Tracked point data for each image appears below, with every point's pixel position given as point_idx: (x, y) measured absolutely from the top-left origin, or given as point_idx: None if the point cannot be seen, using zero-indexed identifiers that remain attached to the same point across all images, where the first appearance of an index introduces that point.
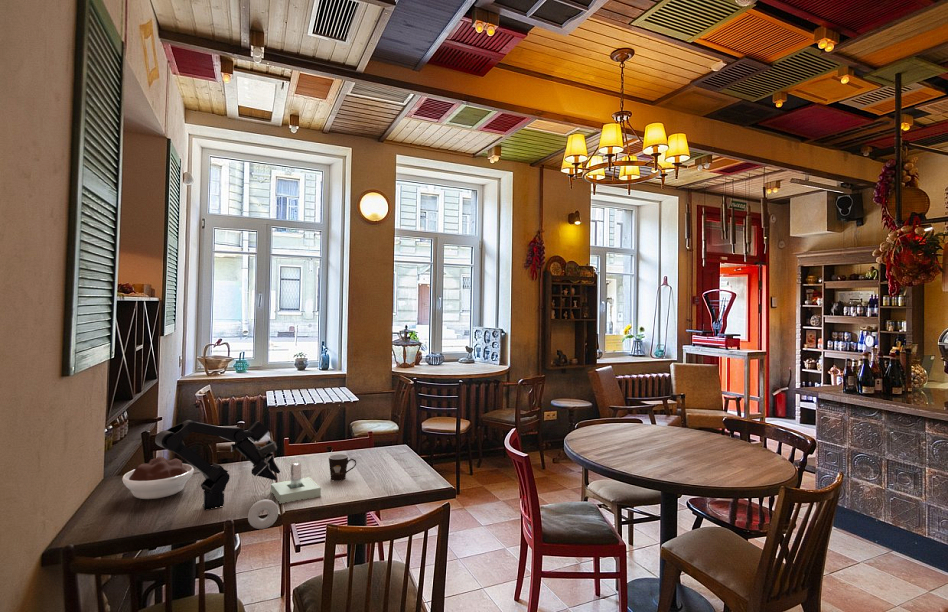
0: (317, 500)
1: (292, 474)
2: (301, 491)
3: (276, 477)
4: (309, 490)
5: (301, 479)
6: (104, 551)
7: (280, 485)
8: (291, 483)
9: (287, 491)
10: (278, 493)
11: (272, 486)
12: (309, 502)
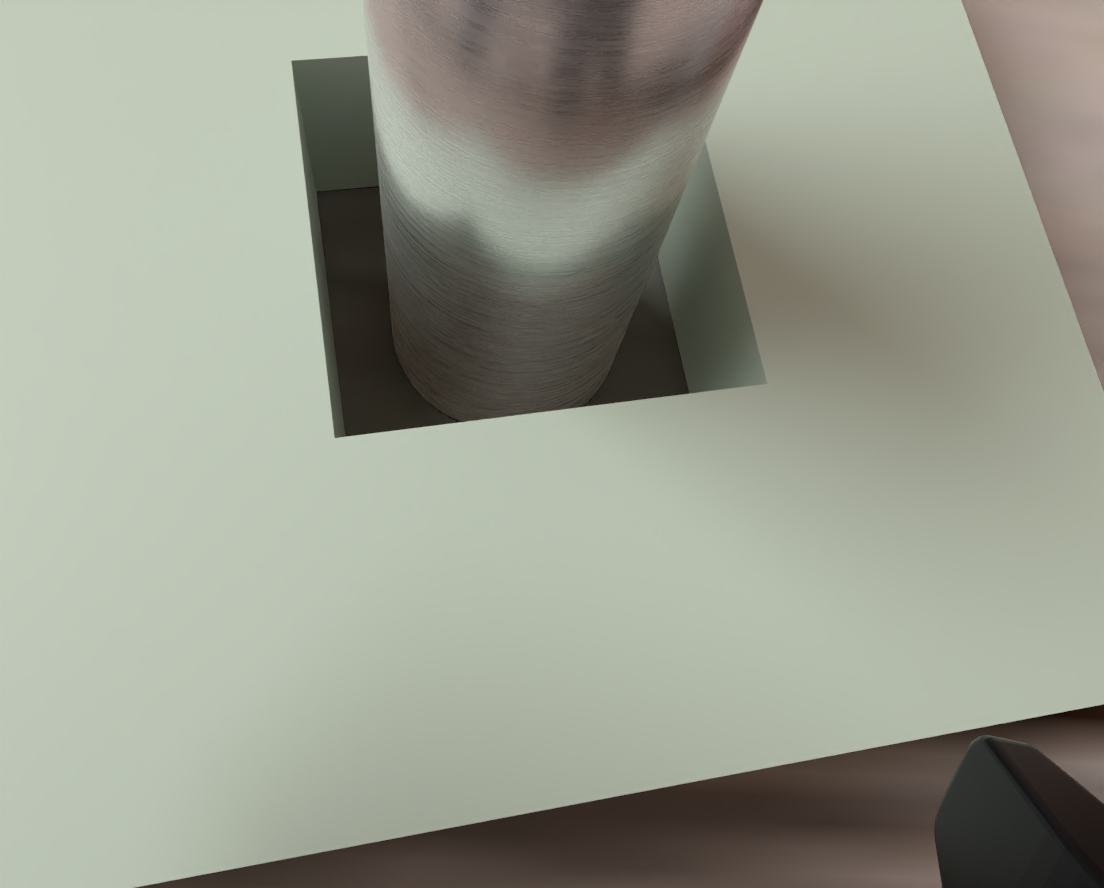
0: (1022, 28)
1: (718, 64)
2: (1016, 163)
3: (1036, 767)
4: (950, 9)
5: (16, 10)
6: None
7: (311, 614)
8: (616, 282)
9: (959, 469)
10: (1001, 723)
11: (169, 879)
12: (1095, 159)
